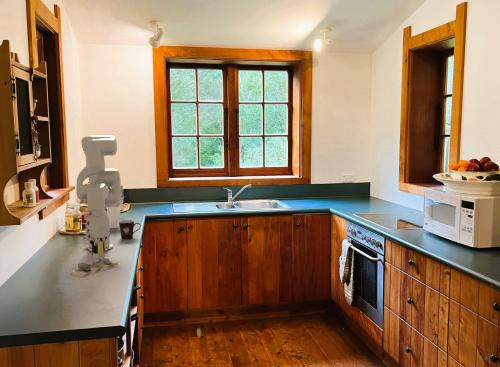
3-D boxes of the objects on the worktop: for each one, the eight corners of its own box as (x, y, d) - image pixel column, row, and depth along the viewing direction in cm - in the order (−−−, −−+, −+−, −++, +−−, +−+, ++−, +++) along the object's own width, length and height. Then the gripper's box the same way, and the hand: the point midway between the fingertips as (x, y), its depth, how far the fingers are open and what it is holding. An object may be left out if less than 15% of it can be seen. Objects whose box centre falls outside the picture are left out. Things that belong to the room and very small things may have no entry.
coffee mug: (116, 239, 262) (115, 222, 260) (124, 236, 270) (123, 219, 269) (134, 240, 259) (134, 223, 258) (142, 237, 267) (141, 220, 266)
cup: (103, 227, 295) (102, 199, 293) (119, 224, 302) (118, 198, 299) (109, 229, 287) (107, 201, 285) (125, 227, 293) (124, 200, 291)
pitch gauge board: (82, 277, 195) (82, 267, 195) (70, 274, 199) (69, 265, 199) (118, 265, 212) (117, 256, 212) (106, 262, 216) (105, 254, 216)
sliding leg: (103, 265, 206) (102, 243, 204) (93, 263, 209) (92, 241, 208) (109, 263, 208) (108, 242, 207) (98, 261, 212) (97, 240, 210)
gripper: (87, 216, 198) (89, 257, 200) (116, 211, 211) (117, 249, 214) (75, 215, 202) (78, 255, 204) (105, 209, 215) (107, 247, 218)
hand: (98, 251), depth 209 cm, fingers closed on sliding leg, 3 cm apart
